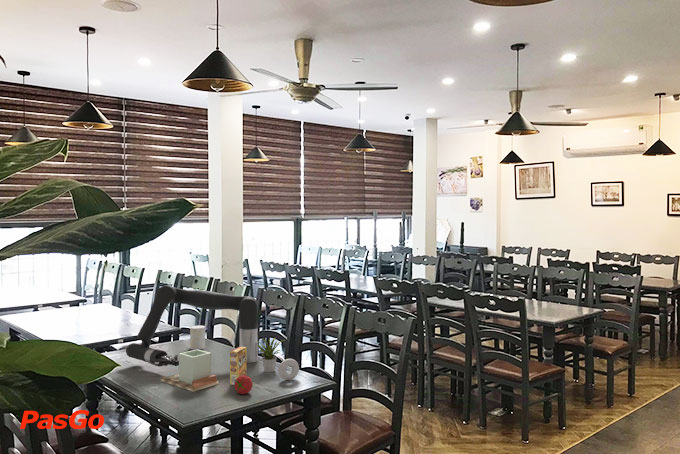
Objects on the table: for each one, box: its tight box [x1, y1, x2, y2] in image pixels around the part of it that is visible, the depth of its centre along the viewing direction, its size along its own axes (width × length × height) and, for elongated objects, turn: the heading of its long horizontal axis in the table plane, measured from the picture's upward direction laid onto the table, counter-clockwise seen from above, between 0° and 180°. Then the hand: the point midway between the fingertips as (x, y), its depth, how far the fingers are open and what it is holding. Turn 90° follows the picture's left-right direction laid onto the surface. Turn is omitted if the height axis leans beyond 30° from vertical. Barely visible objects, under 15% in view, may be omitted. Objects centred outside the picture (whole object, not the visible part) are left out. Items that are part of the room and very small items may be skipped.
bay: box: [160, 373, 220, 393], centre depth 247 cm, size 24×14×4 cm, turn 52°
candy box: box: [229, 346, 248, 386], centre depth 248 cm, size 9×4×15 cm, turn 162°
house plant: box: [257, 337, 286, 373], centre depth 268 cm, size 14×14×16 cm
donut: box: [277, 358, 300, 381], centre depth 252 cm, size 10×4×10 cm, turn 116°
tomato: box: [234, 375, 254, 395], centre depth 232 cm, size 8×8×8 cm
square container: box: [178, 349, 212, 385], centre depth 245 cm, size 10×10×13 cm
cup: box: [189, 325, 206, 350], centre depth 310 cm, size 8×8×12 cm
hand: (177, 363), depth 252 cm, fingers closed
